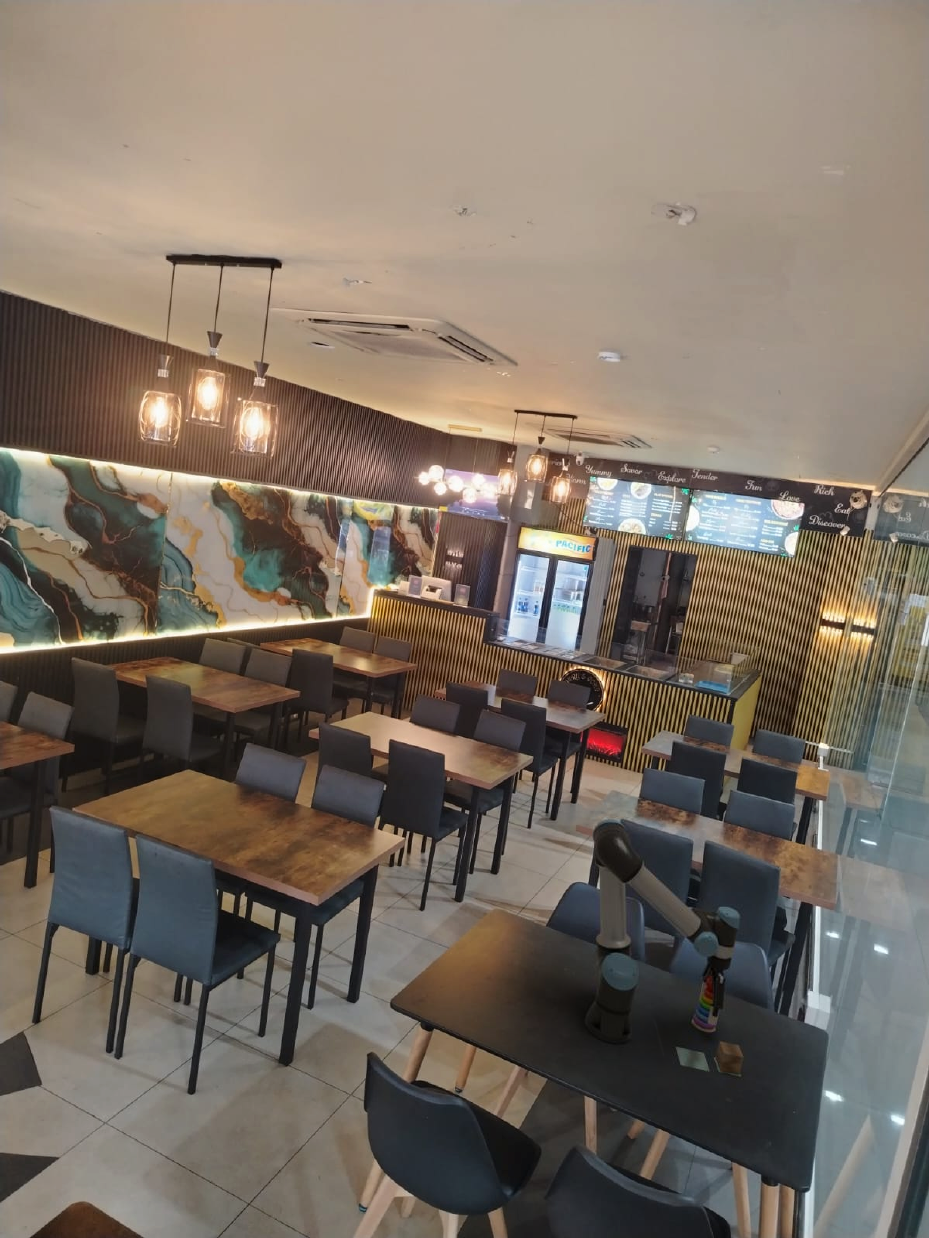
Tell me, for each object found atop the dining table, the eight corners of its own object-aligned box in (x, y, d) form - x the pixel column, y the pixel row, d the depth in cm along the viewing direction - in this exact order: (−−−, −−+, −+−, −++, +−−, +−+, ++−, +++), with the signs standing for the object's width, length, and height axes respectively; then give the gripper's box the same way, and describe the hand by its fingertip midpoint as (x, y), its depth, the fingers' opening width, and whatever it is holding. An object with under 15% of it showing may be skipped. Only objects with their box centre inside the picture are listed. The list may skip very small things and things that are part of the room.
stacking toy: (716, 1038, 268) (728, 986, 266) (692, 1031, 270) (703, 979, 268) (713, 1025, 276) (725, 974, 274) (690, 1018, 277) (701, 968, 275)
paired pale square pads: (670, 1073, 245) (671, 1069, 245) (662, 1041, 261) (663, 1037, 261) (749, 1091, 243) (750, 1087, 243) (736, 1057, 259) (736, 1054, 259)
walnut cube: (720, 1070, 249) (724, 1052, 248) (715, 1058, 255) (719, 1041, 254) (739, 1075, 248) (743, 1057, 248) (734, 1062, 254) (738, 1045, 254)
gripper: (741, 975, 257) (727, 1036, 259) (722, 937, 282) (710, 993, 284) (717, 970, 258) (704, 1031, 260) (701, 933, 282) (689, 989, 285)
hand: (707, 1011), depth 272 cm, fingers open, 13 cm apart
